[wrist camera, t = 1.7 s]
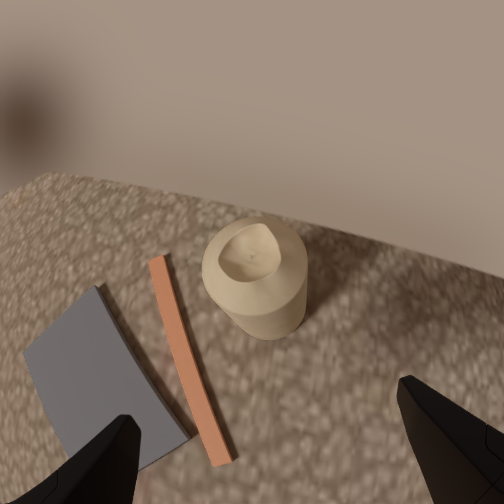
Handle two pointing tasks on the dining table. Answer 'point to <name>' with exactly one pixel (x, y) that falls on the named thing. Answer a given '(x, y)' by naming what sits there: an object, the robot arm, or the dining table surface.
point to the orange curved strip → (187, 364)
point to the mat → (98, 381)
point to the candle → (258, 276)
